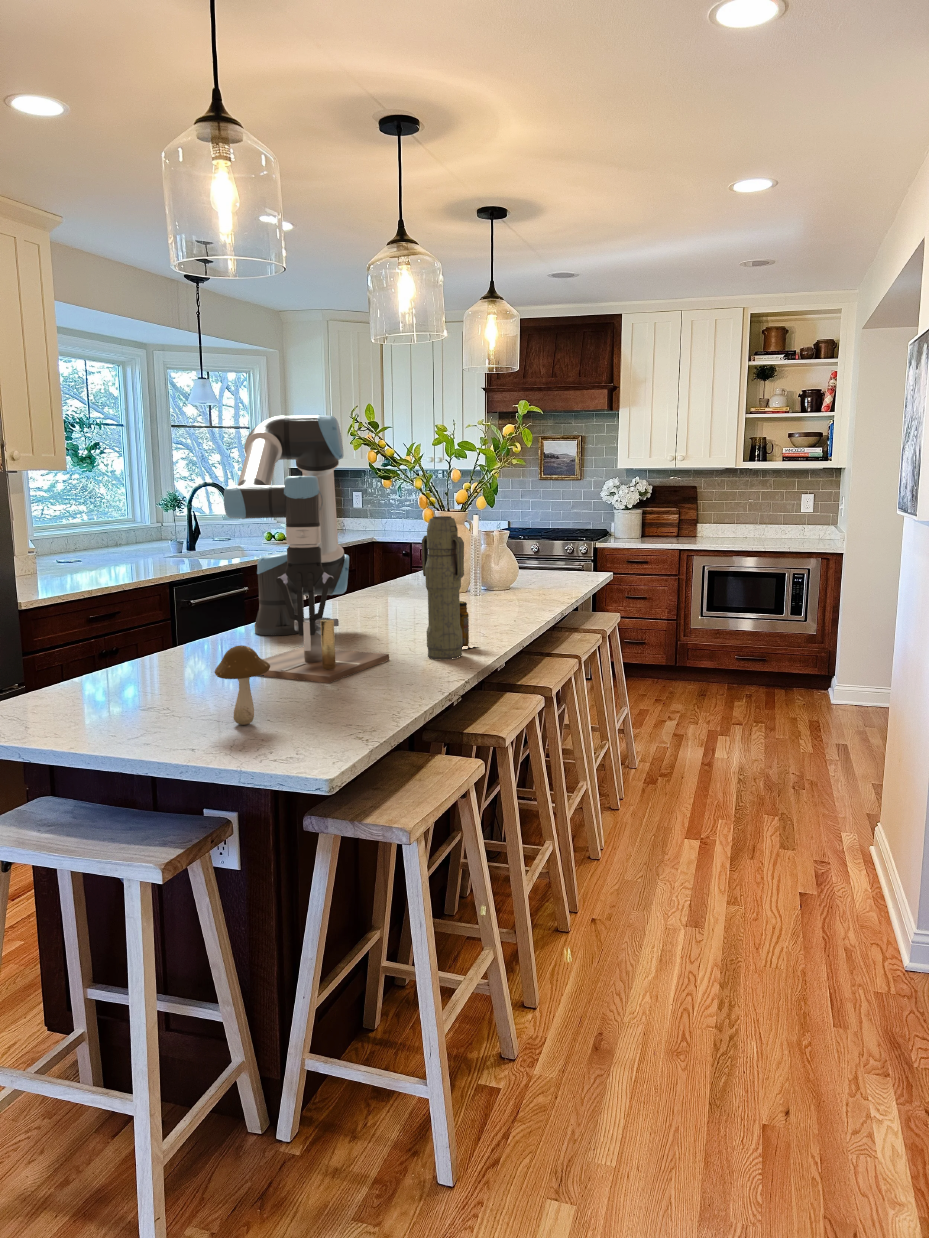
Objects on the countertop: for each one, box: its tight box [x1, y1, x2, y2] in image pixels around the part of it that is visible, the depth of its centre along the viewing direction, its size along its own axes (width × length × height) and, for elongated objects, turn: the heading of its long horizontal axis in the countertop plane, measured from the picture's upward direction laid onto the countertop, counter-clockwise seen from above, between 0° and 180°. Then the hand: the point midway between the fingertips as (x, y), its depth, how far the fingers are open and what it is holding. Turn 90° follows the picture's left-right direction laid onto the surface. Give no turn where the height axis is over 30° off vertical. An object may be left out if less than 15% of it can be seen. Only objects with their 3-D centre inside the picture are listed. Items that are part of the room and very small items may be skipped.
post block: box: [261, 632, 390, 684], centre depth 213 cm, size 26×26×9 cm
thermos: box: [421, 515, 465, 660], centre depth 220 cm, size 9×12×35 cm
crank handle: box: [294, 616, 340, 669], centre depth 209 cm, size 10×18×11 cm, turn 25°
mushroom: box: [214, 645, 270, 726], centre depth 165 cm, size 9×11×15 cm
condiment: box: [460, 600, 470, 647], centre depth 234 cm, size 7×8×12 cm
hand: (307, 649), depth 201 cm, fingers closed
